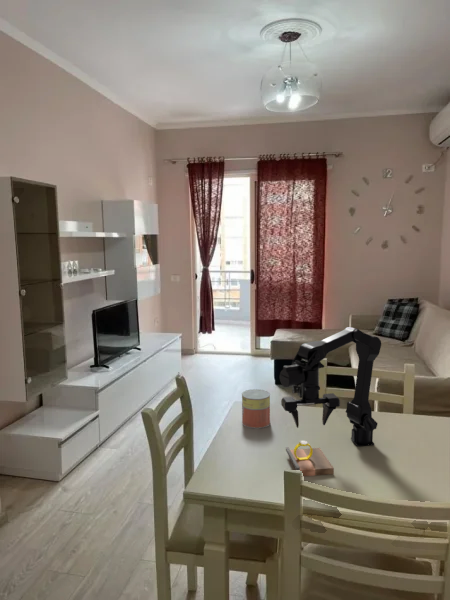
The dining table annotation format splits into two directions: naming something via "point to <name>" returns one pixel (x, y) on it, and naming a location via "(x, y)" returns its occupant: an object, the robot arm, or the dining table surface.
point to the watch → (303, 443)
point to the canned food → (256, 408)
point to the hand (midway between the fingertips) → (310, 426)
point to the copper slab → (311, 462)
